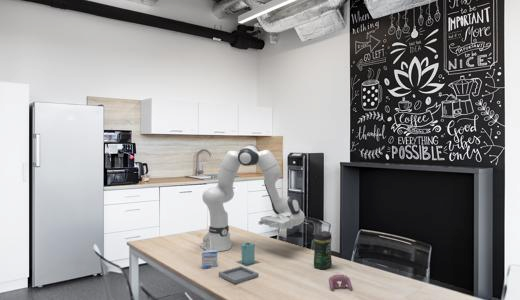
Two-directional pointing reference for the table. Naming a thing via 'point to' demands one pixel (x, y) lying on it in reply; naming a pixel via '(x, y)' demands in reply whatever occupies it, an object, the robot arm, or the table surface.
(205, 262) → the medicine box
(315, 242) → the coffee jar
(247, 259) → the tabbed sleeve
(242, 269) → the tray
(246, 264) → the stand
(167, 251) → the table surface
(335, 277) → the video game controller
